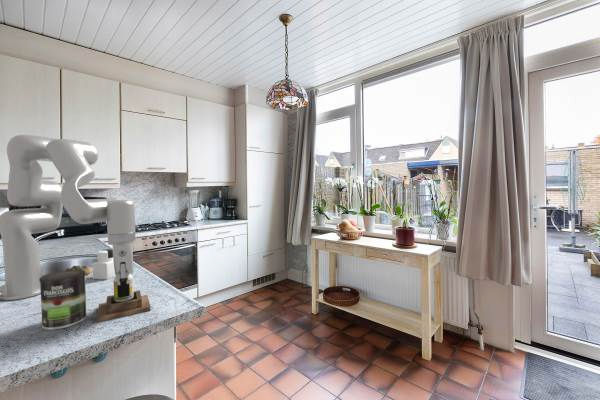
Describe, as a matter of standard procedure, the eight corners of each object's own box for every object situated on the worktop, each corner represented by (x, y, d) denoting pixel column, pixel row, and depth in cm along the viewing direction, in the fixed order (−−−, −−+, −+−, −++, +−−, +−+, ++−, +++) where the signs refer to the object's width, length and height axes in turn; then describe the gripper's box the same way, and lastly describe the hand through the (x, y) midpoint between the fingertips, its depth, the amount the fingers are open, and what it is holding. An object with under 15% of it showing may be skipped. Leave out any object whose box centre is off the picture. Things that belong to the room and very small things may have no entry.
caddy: (96, 322, 82) (96, 309, 82) (99, 307, 92) (98, 296, 92) (150, 310, 89) (150, 299, 89) (147, 298, 99) (147, 287, 99)
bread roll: (55, 278, 121) (56, 267, 121) (74, 274, 132) (75, 263, 132) (82, 279, 122) (83, 267, 122) (98, 274, 133) (99, 264, 133)
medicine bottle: (106, 274, 127) (105, 248, 127) (120, 274, 126) (119, 248, 126) (92, 279, 120) (91, 251, 120) (107, 279, 119) (106, 252, 119)
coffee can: (81, 325, 80) (79, 277, 79) (34, 333, 76) (32, 282, 75) (91, 311, 89) (89, 267, 89) (50, 317, 85) (48, 271, 84)
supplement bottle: (131, 301, 89) (130, 271, 88) (111, 303, 87) (110, 273, 87) (135, 295, 94) (134, 266, 93) (117, 296, 92) (116, 268, 92)
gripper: (136, 241, 84) (138, 299, 85) (134, 233, 99) (135, 283, 100) (106, 244, 80) (108, 305, 81) (108, 235, 95) (110, 287, 96)
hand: (123, 292), depth 90 cm, fingers closed on supplement bottle, 5 cm apart
